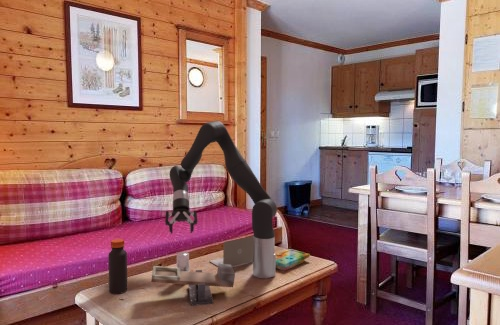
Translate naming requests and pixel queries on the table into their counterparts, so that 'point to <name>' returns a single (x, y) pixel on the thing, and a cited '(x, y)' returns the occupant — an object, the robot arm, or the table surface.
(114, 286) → the bottle
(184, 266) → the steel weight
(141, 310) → the table surface
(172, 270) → the balance beam
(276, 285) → the table surface
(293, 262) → the puzzle game
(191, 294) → the fulcrum stand
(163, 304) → the table surface
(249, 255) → the laptop
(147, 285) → the table surface
